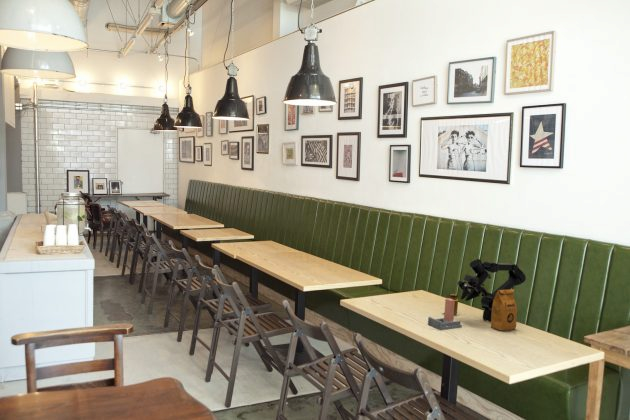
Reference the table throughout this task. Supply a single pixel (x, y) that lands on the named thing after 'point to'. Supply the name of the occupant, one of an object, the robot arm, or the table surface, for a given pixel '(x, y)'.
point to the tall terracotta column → (449, 310)
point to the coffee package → (504, 311)
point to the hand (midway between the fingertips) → (463, 299)
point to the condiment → (455, 297)
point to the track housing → (443, 324)
